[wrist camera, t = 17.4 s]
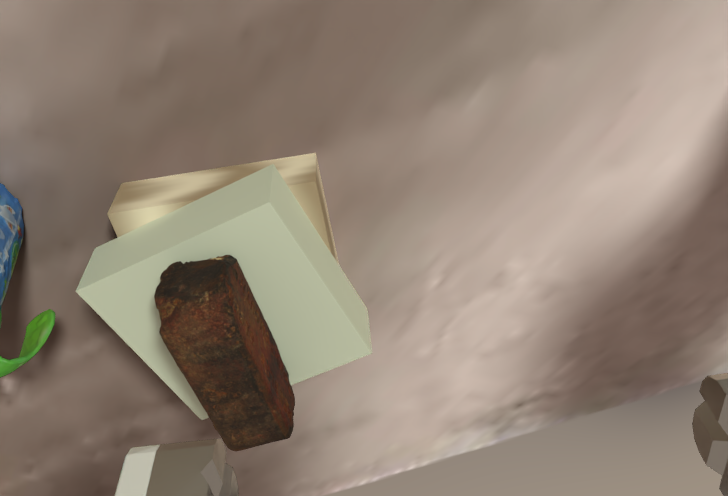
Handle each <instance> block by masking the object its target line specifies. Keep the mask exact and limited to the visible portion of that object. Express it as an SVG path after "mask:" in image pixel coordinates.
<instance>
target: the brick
mask: <svg viewBox="0 0 728 496" xmlns="http://www.w3.org/2000/svg"><path fill="white" fill-rule="evenodd" d="M154 298H155V304H156V308H157V309H158V311H159V315H160V320H161V327H160V331H159V333H160V335H161V338H162V340H163V342H164V344H165V345H166V347H167V349H168V350H169V352H170V354H171V355H172V357H173V359H174V361H175V362H176V364H177V366H178V368H179V369H180V371H181V372H182V373H183V375H184V377H185V378H186V380H187V382H188V383H189V385H190V386H191V388H192V390H193V391H194V393H195V395H196V396H197V398H198V400H199V401H200V403H201V405H202V407H203V408H204V410H205V411H206V412H207V414H208V417H209V418H210V419H211V420H212V422H213V424H214V427H215V429H216V430H217V431H218V432H219V434H220V435H221V437H222V439H223V441H224V443H225V444H226V445H227V447H228V448H229V449H231V450H233V451H240V450H244V449H248V448H251V447H255V446H259V445H263V444H267V443H271V442H275V441H279V440H284V439H288V438H290V436H291V434H292V431H293V426H294V425H293V416H294V413H293V410H294V406H295V398H294V394H293V391H292V386H291V385H290V381H289V374H288V372H287V369H286V367H285V365H284V363H283V361H282V358H281V356H280V352H279V350H278V346H277V344H276V342H275V340H274V338H273V336H272V333H271V331H270V329H269V327H268V324H267V322H266V321H265V319H264V316H263V314H262V312H261V310H260V308H259V306H258V304H257V302H256V300H255V298H254V296H253V293H252V291H251V289H250V286H249V284H248V282H247V280H246V278H245V276H244V274H243V272H242V269H241V267H240V265H239V263H238V261H237V259H236V258H234V257H233V256H231V255H224V256H218V257H216V258H210V259H207V260H200V261H190V262H185V263H184V264H183V263H182V262H181V261H179V262H175V263H172V264H171V265H169V266H168V268H167V269H166V270H164V271H163V272H162V274H161V276H160V283H159V285H158V286H157V288H156V291H155V295H154Z"/></svg>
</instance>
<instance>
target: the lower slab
mask: <svg viewBox="0 0 728 496" xmlns="http://www.w3.org/2000/svg"><path fill="white" fill-rule="evenodd" d="M272 164H274V165H275V167H276V169H277V170H278V172H279V173H280V175H281V176H282V178H283V179H284V181H285V182H286V184H287V186H288V187H289V189H290V190H291V192H292V193H293V195H294V196H295V198H296V199H297V201H298V203H299V204H300V206H301V207H302V209H303V210H304V212H305V213H306V215H307V217H308V218H309V220H310V221H311V223H312V224H313V226H314V227H315V229H316V230H317V232H318V234H319V235H320V237H321V238H322V240H323V241H324V243H325V244H326V246H327V247H328V249H329V251H330V252H331V254H332V255H333V257H334V258H335V260H336V261H337V263H338V264H339V262H338V258H337V253H336V248H335V243H334V238H333V234H332V229H331V224H330V219H329V214H328V210H327V205H326V200H325V195H324V190H323V186H322V181H321V176H320V171H319V166H318V161H317V157H316V153H312V154H305V155H299V156H293V157H286V158H280V159H274V160H267V161H261V162H254V163H248V164H242V165H235V166H229V167H223V168H216V169H210V170H203V171H197V172H191V173H184V174H178V175H172V176H165V177H159V178H152V179H146V180H140V181H133V182H127V183H121V186H120V188H119V190H118V192H117V194H116V196H115V198H114V201H113V203H112V205H111V207H110V209H109V211H108V213H107V214H108V217H109V219H110V221H111V223H112V226H113V228H114V230H115V233H116V235H117V237H120V236H122V235H124V234H126V233H128V232H130V231H133V230H135V229H137V228H139V227H141V226H143V225H145V224H147V223H149V222H151V221H154V220H156V219H158V218H160V217H162V216H164V215H166V214H168V213H170V212H173V211H175V210H177V209H179V208H181V207H183V206H185V205H187V204H189V203H192V202H194V201H196V200H198V199H200V198H202V197H204V196H206V195H208V194H211V193H213V192H215V191H217V190H219V189H221V188H223V187H225V186H227V185H230V184H232V183H234V182H236V181H238V180H240V179H242V178H244V177H246V176H249V175H251V174H253V173H255V172H257V171H259V170H261V169H263V168H265V167H267V166H270V165H272Z"/></svg>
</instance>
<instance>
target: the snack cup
mask: <svg viewBox="0 0 728 496" xmlns="http://www.w3.org/2000/svg"><path fill="white" fill-rule="evenodd" d="M23 233H24V223H23V219H22V207H21V205H20V203H19V201H18V199H17V198H14V197H13V196H12V194H11V193H10V192H9V191H8V190H7V189H6V188H5V186H4V185H3V184H1V183H0V328H1V306H2V304H3V301H4V299H5V296H6V293H7V290H8V285H9V282H10V279H11V277H12V274H13V270H14V267H15V264H16V261H17V257H18V252H19V250H20V247H21V244H22V240H23ZM54 324H55V312H54V311H52V310H51V309H49V310H47V311H44V312H42V313H41V314H40V315H38V316H37V317H35V318H34V319H33V320H32V321H31V322H30V323H29V324H28V326H27V327H26V335H25V338H24V342H23V345H22V349H21V352H20V355H19V358H14V359H10V360H8V359H5V358H2V357H1V356H0V377H3V376H5V375H7V374H9V373H11V372H13V371H15V370H16V369H17V368H19V367H20V366H21V365H23V364H25V363H26V362H28V361H29V360H30V359H31V358H32V357H33V356H34V355H36V353H37V352H38V351H39V350H40V349H41V347H42V346H43V345H44V343H45V342H46V340H47V339H48V337H49V335H50V333H51V331H52V329H53V326H54Z"/></svg>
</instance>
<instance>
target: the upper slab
mask: <svg viewBox="0 0 728 496" xmlns="http://www.w3.org/2000/svg"><path fill="white" fill-rule="evenodd" d="M224 255H231V256H233V257H234V258H236V259H237V261H238V263H239V265H240V267H241V269H242V272H243V274H244V276H245V278H246V280H247V282H248V284H249V286H250V289H251V291H252V293H253V296H254V298H255V300H256V302H257V304H258V306H259V308H260V310H261V312H262V314H263V316H264V319H265V321H266V322H267V324H268V327H269V329H270V331H271V333H272V336H273V338H274V340H275V342H276V344H277V346H278V350H279V352H280V356H281V358H282V361H283V363H284V365H285V367H286V369H287V372H288V374H289V381H290V385H293V384H296V383H298V382H301V381H303V380H306V379H308V378H311V377H313V376H316V375H318V374H321V373H324V372H326V371H329V370H331V369H334V368H336V367H339V366H341V365H344V364H346V363H349V362H351V361H354V360H357V359H359V358H362V357H364V356H367V355H369V354H372V347H371V337H370V327H369V317H368V309H367V308H366V306H365V305H364V303H363V302H362V300H361V298H360V297H359V295H358V294H357V292H356V291H355V289H354V288H353V286H352V285H351V283H350V281H349V280H348V278H347V277H346V275H345V274H344V272H343V271H342V269H341V268H340V266H339V264H338V263H337V261H336V260H335V258H334V257H333V255H332V254H331V252H330V251H329V249H328V247H327V246H326V244H325V243H324V241H323V240H322V238H321V237H320V235H319V234H318V232H317V230H316V229H315V227H314V226H313V224H312V223H311V221H310V220H309V218H308V217H307V215H306V213H305V212H304V210H303V209H302V207H301V206H300V204H299V203H298V201H297V199H296V198H295V196H294V195H293V193H292V192H291V190H290V189H289V187H288V186H287V184H286V182H285V181H284V179H283V178H282V176H281V175H280V173H279V172H278V170H277V169H276V167H275V165H274V164H272V165H270V166H267V167H265V168H263V169H261V170H259V171H257V172H255V173H253V174H251V175H249V176H246V177H244V178H242V179H240V180H238V181H236V182H234V183H232V184H230V185H227V186H225V187H223V188H221V189H219V190H217V191H215V192H213V193H211V194H208V195H206V196H204V197H202V198H200V199H198V200H196V201H194V202H192V203H189V204H187V205H185V206H183V207H181V208H179V209H177V210H175V211H173V212H170V213H168V214H166V215H164V216H162V217H160V218H158V219H156V220H154V221H151V222H149V223H147V224H145V225H143V226H141V227H139V228H137V229H135V230H133V231H130V232H128V233H126V234H124V235H122V236H120V237H118V238H116V239H114V240H111V241H109V242H107V243H105V244H103V245H101V246H99V247H97V248H95V250H94V252H93V254H92V256H91V259H90V261H89V263H88V265H87V267H86V270H85V272H84V274H83V276H82V278H81V281H80V283H79V285H78V287H77V289H76V292H77V293H78V294H79V295H80V296H81V297H82V298H83V299H84V300H85V301H86V302H87V303H88V304H89V305H90V306H91V307H92V308H93V310H94V311H95V312H96V313H97V314H98V315H99V316H100V317H101V318H102V319H103V320H104V321H105V322H106V323H107V324H108V325H109V326H110V327H111V328H112V329H113V330H114V331H115V332H116V333H117V334H118V335H119V336H120V337H121V338H122V339H123V340H124V341H125V342H126V343H127V344H128V345H129V346H130V347H131V348H132V349H133V350H134V352H135V353H136V354H137V355H138V356H139V357H140V358H141V359H142V360H143V361H144V362H145V363H146V364H147V365H148V366H149V367H150V368H151V369H152V370H153V371H154V372H155V373H156V374H157V375H158V376H159V377H160V378H161V379H162V380H163V381H164V382H165V383H166V384H167V385H168V386H169V387H170V388H171V389H172V390H173V391H174V392H175V393H176V395H177V396H178V397H179V398H180V399H181V400H182V401H183V402H184V403H185V404H186V405H187V406H188V407H189V408H190V409H191V410H192V411H193V412H194V413H195V414H196V415H197V416H198V417H199V418H200V419H201V420H204V419H207V418H209V417H208V414H207V412H206V411H205V410H204V408H203V407H202V405H201V403H200V401H199V400H198V398H197V396H196V395H195V393H194V391H193V390H192V388H191V386H190V385H189V383H188V382H187V380H186V378H185V377H184V375H183V373H182V372H181V371H180V369H179V368H178V366H177V364H176V362H175V361H174V359H173V357H172V355H171V354H170V352H169V350H168V349H167V347H166V345H165V344H164V342H163V340H162V338H161V335H160V333H159V331H160V327H161V320H160V315H159V311H158V309H157V308H156V304H155V298H154V295H155V291H156V288H157V286H158V285H159V283H160V276H161V274H162V272H163V271H164V270H166V269H167V268H168V266H169V265H171V264H172V263H175V262H179V261H181V262H182V263H183V264H184V263H185V262H190V261H200V260H207V259H210V258H216V257H218V256H224Z"/></svg>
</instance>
